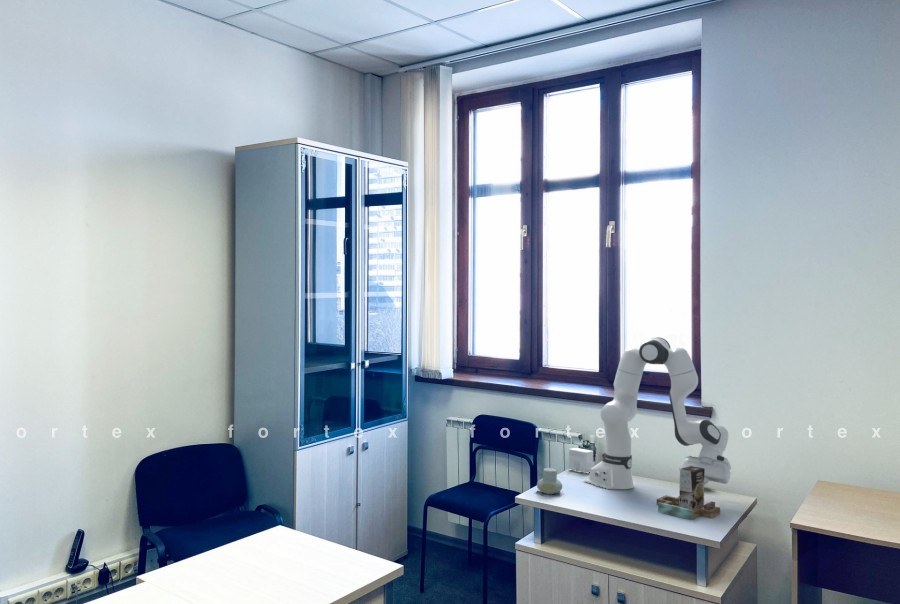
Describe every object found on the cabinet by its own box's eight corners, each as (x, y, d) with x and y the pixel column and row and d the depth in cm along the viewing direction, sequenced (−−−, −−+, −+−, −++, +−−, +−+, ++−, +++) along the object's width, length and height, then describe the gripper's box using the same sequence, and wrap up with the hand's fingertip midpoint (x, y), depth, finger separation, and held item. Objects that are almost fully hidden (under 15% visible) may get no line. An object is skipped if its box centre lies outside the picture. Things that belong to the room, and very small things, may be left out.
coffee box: (693, 511, 272) (693, 471, 272) (678, 507, 277) (679, 468, 277) (704, 507, 278) (705, 468, 278) (690, 503, 283) (690, 465, 283)
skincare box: (593, 471, 333) (593, 450, 333) (585, 474, 329) (586, 452, 329) (575, 467, 341) (576, 446, 341) (568, 470, 336) (568, 448, 336)
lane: (647, 509, 275) (647, 500, 275) (672, 498, 290) (672, 490, 290) (703, 522, 259) (703, 513, 259) (726, 510, 274) (726, 502, 274)
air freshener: (562, 491, 299) (563, 468, 299) (561, 496, 291) (561, 472, 291) (538, 488, 301) (538, 466, 301) (535, 494, 293) (536, 470, 293)
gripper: (683, 450, 295) (672, 477, 288) (731, 459, 281) (720, 487, 274) (687, 459, 298) (677, 486, 291) (735, 468, 284) (725, 496, 277)
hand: (698, 486), depth 282 cm, fingers closed
